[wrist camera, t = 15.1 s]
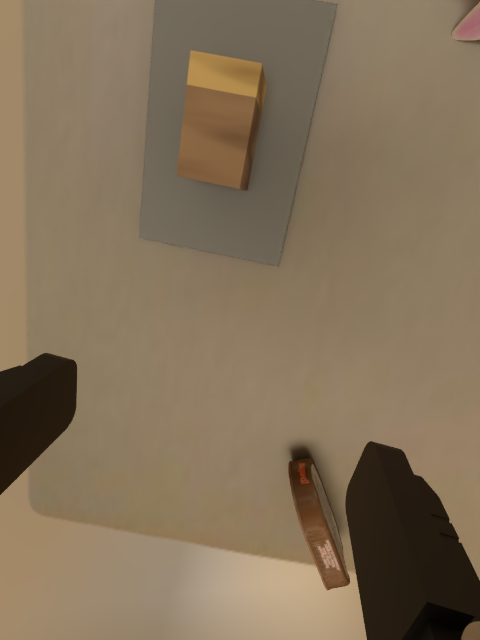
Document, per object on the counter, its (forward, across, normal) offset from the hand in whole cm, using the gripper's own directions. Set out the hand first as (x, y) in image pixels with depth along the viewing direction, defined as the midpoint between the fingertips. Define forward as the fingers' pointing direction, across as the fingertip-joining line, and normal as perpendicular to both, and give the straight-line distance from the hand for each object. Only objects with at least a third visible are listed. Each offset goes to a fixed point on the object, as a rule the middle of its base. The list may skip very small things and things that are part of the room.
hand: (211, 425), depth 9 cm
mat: (+25, +6, -10) cm, 28 cm away
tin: (+26, -12, +27) cm, 39 cm away
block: (+22, +6, -6) cm, 23 cm away
